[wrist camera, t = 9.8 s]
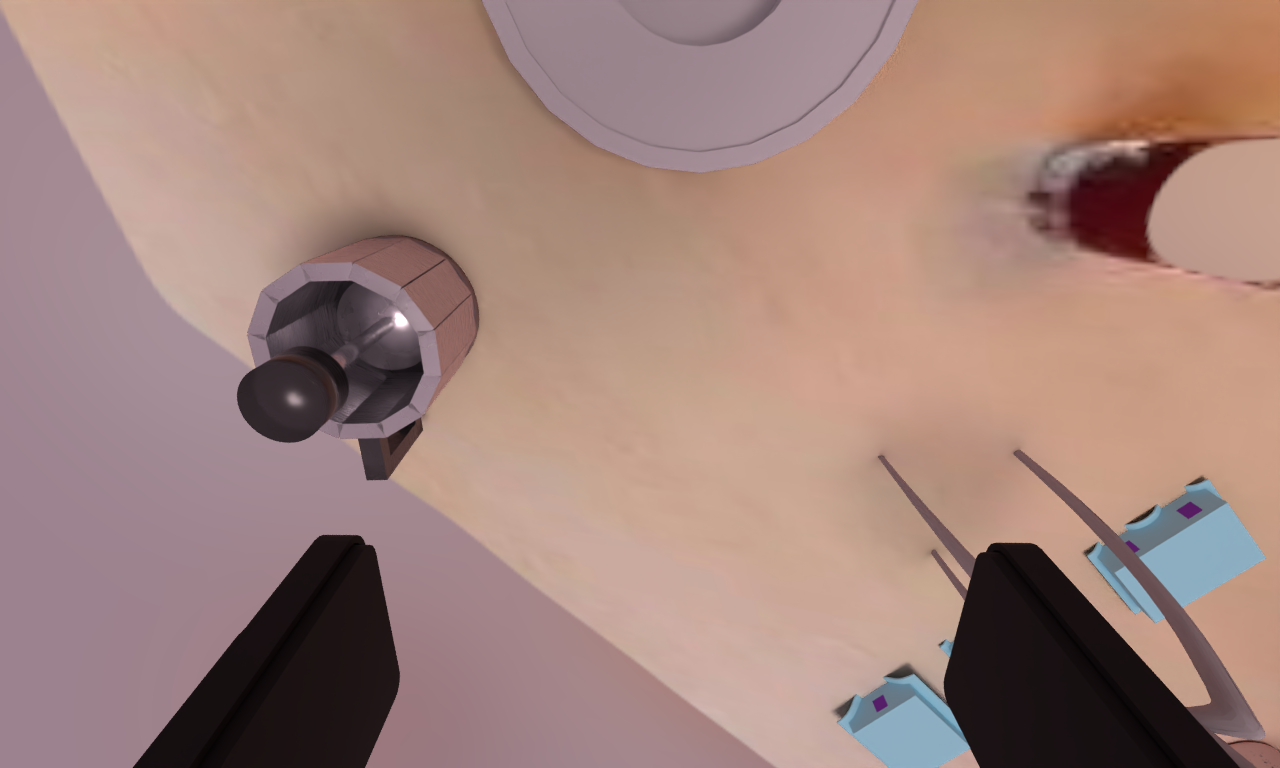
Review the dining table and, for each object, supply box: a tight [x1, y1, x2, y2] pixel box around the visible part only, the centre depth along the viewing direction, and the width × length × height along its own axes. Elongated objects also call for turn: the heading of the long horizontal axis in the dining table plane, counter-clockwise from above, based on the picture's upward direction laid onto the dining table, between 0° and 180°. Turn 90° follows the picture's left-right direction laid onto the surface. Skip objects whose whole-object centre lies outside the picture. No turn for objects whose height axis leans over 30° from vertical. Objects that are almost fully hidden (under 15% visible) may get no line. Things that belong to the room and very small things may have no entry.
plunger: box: [237, 282, 422, 443], centre depth 33 cm, size 6×6×13 cm
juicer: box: [879, 450, 1265, 768], centre depth 33 cm, size 10×9×30 cm
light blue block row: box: [837, 479, 1266, 768], centre depth 51 cm, size 34×3×10 cm
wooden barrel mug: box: [247, 235, 479, 480], centre depth 37 cm, size 13×10×9 cm
